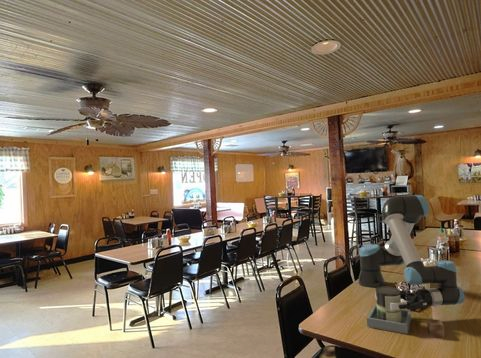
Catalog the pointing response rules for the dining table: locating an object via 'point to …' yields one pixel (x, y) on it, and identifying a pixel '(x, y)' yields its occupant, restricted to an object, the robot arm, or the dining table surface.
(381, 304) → the coffee can
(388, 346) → the dining table surface
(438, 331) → the walnut block
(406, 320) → the tray
